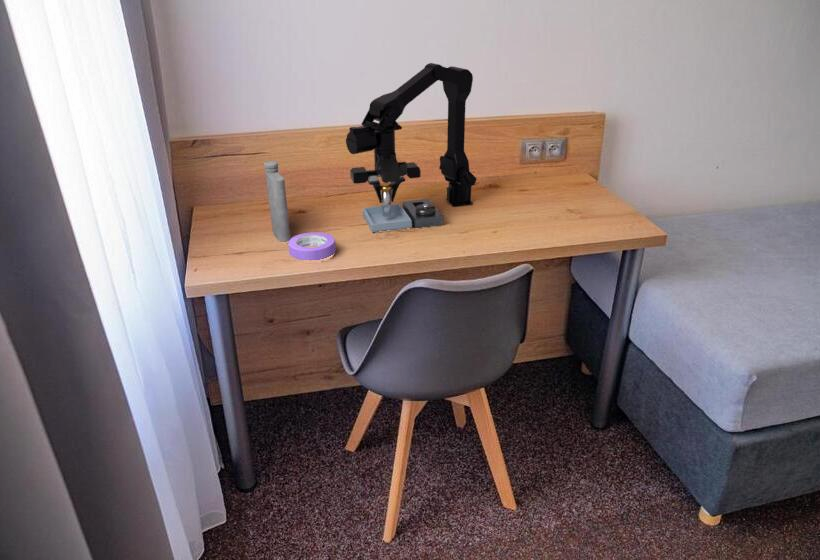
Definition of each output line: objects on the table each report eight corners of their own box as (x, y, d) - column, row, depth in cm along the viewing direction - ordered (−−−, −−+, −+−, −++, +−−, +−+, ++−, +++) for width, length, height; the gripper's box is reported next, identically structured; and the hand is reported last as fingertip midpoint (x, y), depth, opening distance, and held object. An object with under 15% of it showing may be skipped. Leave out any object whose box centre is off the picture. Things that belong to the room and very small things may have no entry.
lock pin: (391, 212, 180) (390, 182, 176) (394, 217, 177) (393, 186, 173) (379, 213, 179) (378, 183, 175) (381, 218, 176) (380, 187, 172)
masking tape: (292, 245, 166) (290, 232, 164) (336, 244, 166) (335, 230, 165) (287, 265, 156) (286, 251, 154) (334, 263, 156) (333, 249, 154)
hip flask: (291, 243, 167) (283, 170, 158) (276, 245, 166) (267, 172, 156) (283, 221, 180) (275, 153, 171) (269, 223, 179) (260, 154, 170)
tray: (400, 211, 186) (399, 203, 185) (411, 228, 175) (411, 220, 173) (362, 215, 183) (362, 207, 182) (372, 233, 172) (371, 224, 171)
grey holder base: (428, 208, 188) (428, 191, 186) (442, 225, 176) (442, 207, 174) (402, 211, 186) (402, 193, 184) (415, 228, 174) (415, 210, 172)
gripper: (356, 159, 160) (358, 216, 167) (426, 153, 164) (426, 208, 171) (348, 147, 169) (351, 201, 177) (414, 141, 174) (415, 195, 181)
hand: (386, 202), depth 176 cm, fingers closed on lock pin, 3 cm apart
